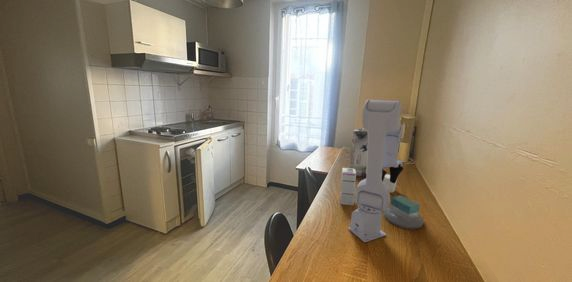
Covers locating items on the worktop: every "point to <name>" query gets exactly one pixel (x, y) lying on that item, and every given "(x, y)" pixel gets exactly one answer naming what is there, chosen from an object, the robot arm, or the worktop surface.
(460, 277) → the worktop surface
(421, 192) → the worktop surface
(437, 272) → the worktop surface
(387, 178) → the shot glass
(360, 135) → the juice carton
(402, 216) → the block
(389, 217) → the slate stand
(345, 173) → the syrup box
